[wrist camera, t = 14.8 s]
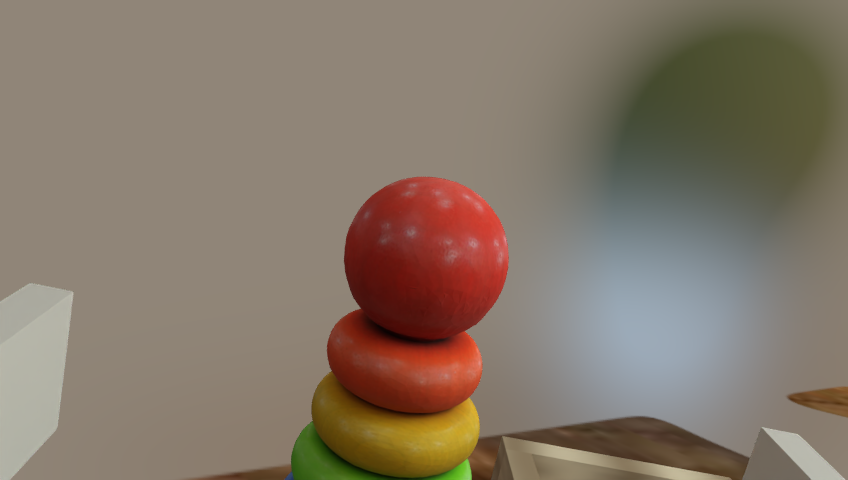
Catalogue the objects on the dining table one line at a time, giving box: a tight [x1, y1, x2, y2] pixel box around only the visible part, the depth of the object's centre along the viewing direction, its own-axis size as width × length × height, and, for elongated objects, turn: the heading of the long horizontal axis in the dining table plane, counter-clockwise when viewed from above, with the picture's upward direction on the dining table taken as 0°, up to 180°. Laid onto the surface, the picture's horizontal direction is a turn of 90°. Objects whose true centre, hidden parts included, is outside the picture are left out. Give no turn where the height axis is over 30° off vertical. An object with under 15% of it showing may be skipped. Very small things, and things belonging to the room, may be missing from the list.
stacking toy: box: [285, 177, 509, 480], centre depth 25 cm, size 8×8×19 cm
